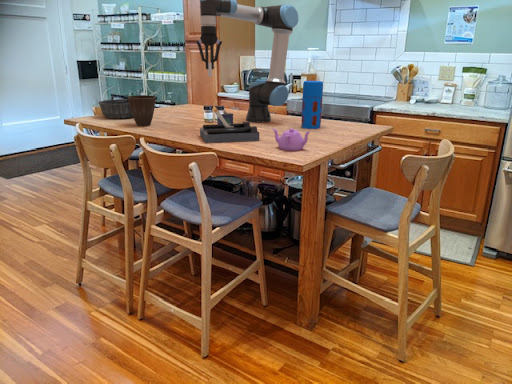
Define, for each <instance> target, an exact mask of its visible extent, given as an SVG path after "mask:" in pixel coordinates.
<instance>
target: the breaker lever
mask: <svg viewBox="0 0 512 384" xmlns="http://www.w3.org/2000/svg"><path fill="white" fill-rule="evenodd" d="M211 110H212V111H213V113H215V115H216V117H217V116H218V118H219V119H220V120H221V122H222V123H223V124H224V126H225V127H226V128H227V126H229V125H228V123H227V122H226V121H225V119H224V118H223V116H222V115H221V114H222V113H221V112H220V111H219V109H218V108H217V107H216V106H214V107H213V108H212V109H211Z"/></svg>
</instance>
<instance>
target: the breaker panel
mask: <svg viewBox="0 0 512 384" xmlns="http://www.w3.org/2000/svg"><path fill="white" fill-rule="evenodd" d="M228 125H229V126H227V128H226V127H225V126H224V124H217V123H216V124H215V123H213V124H211V123H210V124H203V125H202V127H199V136H200V138H201V139H202V141H203V142H204V143H205V144H222V143H241V142H258V141H259V142H260V131H259V130H258V126H251V122H249V121H242V122H241V123H240V122H239V123H233V124H228Z"/></svg>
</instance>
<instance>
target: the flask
mask: <svg viewBox="0 0 512 384" xmlns="http://www.w3.org/2000/svg"><path fill="white" fill-rule="evenodd" d="M220 114H221V115H222V116H223V118H224V119H225V121H226V122H227V123H228V124H234V113H232V112H227V111H226V109H225V110H223V111H222V113H220ZM216 117H217V121H216V124H223V123H222V122H221V120H220V119H219V118H218V116H217V115H216Z"/></svg>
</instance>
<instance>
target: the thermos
mask: <svg viewBox="0 0 512 384" xmlns="http://www.w3.org/2000/svg"><path fill="white" fill-rule="evenodd" d="M302 83H303V85H302V105H301V106H302V107H301V128H302V129H307V130H318V129H320V128H321V124H322V109H323V95H324V93H323V92H324V81H321V80H304V81H303V82H302Z"/></svg>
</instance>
